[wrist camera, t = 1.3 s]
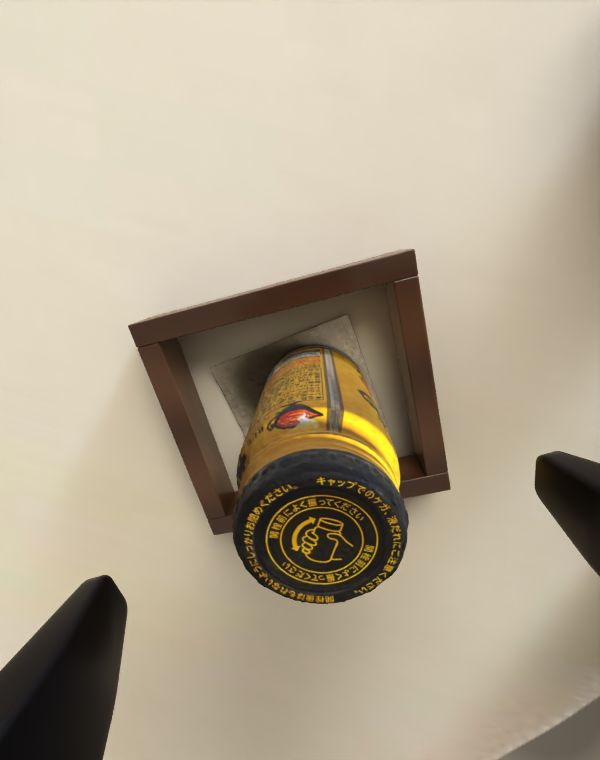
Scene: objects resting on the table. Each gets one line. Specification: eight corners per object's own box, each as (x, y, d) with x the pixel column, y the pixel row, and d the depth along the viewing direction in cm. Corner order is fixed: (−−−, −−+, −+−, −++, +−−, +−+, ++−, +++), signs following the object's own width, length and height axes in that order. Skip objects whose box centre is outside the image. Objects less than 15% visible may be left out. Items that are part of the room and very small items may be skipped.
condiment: (387, 424, 22) (465, 600, 11) (261, 467, 23) (213, 664, 12) (347, 313, 20) (393, 386, 9) (211, 366, 21) (97, 490, 10)
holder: (436, 466, 23) (451, 489, 21) (223, 509, 25) (213, 535, 22) (401, 249, 19) (414, 248, 17) (148, 317, 21) (127, 325, 18)
